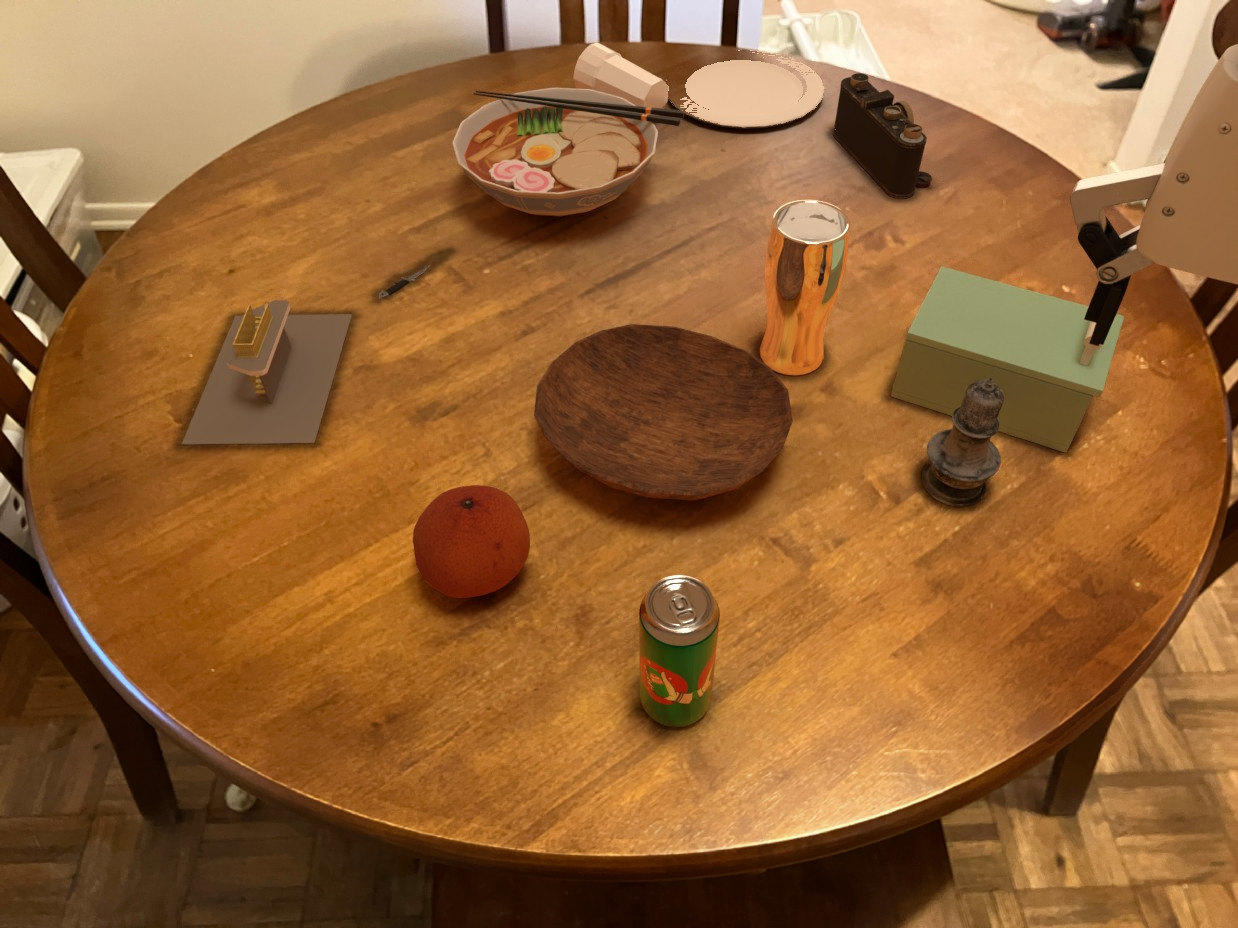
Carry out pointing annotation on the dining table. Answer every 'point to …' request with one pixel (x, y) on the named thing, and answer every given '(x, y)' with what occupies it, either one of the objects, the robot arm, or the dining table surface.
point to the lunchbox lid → (1014, 330)
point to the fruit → (471, 541)
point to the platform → (270, 378)
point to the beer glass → (802, 282)
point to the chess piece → (966, 448)
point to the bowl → (663, 411)
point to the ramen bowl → (558, 148)
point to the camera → (881, 136)
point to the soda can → (677, 650)
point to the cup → (618, 77)
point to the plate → (751, 93)
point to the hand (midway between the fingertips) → (1191, 356)
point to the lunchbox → (1027, 400)
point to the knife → (401, 284)
